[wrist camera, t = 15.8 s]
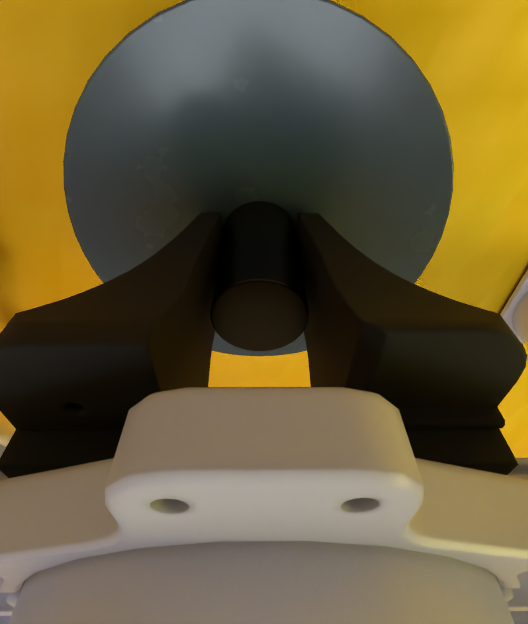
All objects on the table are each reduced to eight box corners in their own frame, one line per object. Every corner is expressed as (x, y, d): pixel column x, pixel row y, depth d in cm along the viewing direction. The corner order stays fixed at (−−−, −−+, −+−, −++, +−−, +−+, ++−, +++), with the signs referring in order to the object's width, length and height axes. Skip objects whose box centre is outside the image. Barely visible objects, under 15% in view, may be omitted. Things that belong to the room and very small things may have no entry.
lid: (511, -10, 9) (711, -9, 5) (389, 338, 17) (427, 442, 13) (4, -17, 8) (-205, -21, 5) (128, 338, 16) (89, 442, 13)
